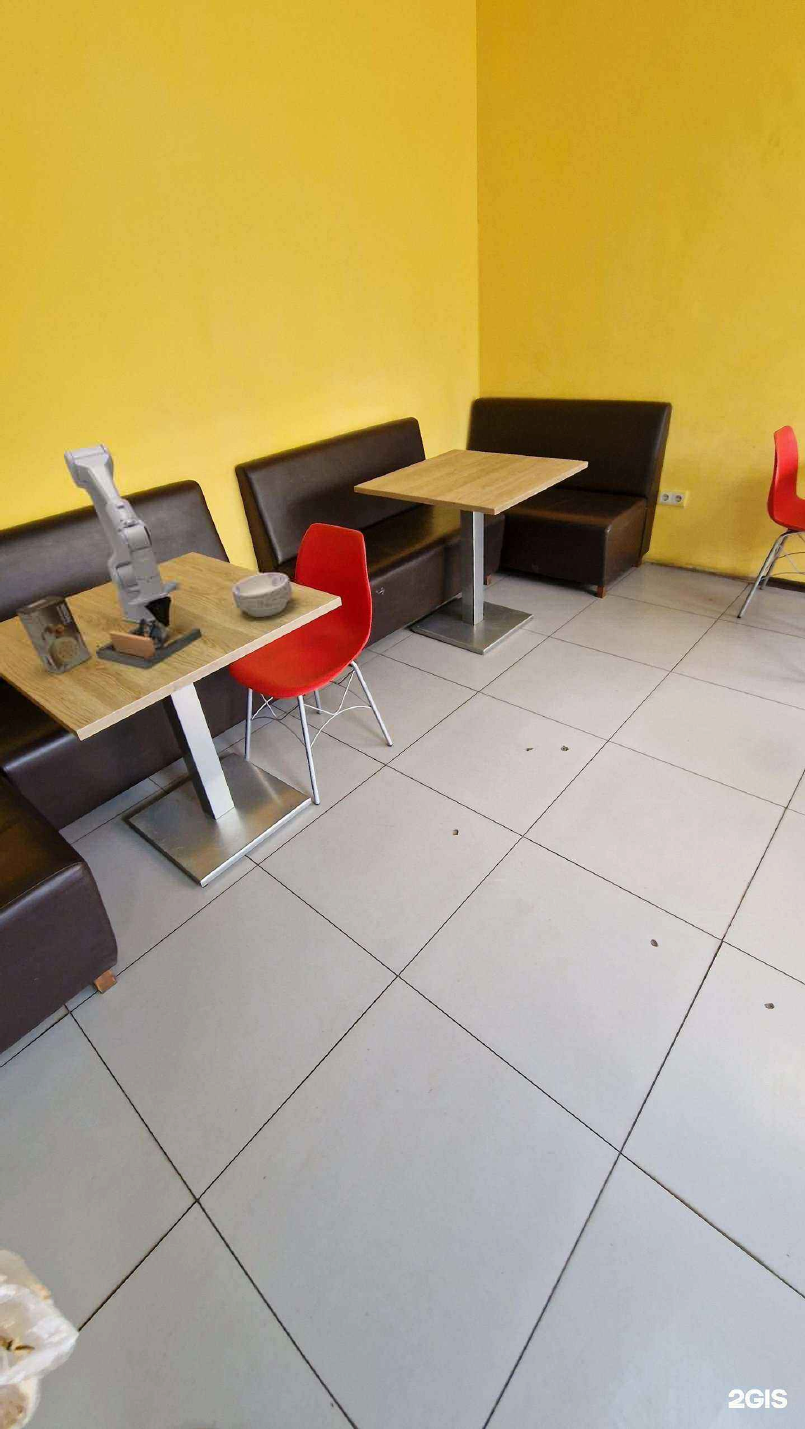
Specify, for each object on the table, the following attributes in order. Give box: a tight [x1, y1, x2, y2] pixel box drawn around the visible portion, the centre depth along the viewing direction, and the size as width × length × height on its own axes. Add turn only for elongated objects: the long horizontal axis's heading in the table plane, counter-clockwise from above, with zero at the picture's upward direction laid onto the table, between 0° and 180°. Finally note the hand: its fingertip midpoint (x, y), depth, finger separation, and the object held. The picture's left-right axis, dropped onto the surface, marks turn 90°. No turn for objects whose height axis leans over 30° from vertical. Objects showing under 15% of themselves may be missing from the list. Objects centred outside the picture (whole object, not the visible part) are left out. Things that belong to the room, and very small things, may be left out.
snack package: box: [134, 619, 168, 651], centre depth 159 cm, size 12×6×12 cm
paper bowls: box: [231, 572, 293, 618], centre depth 167 cm, size 15×15×8 cm
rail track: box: [95, 619, 203, 670], centre depth 157 cm, size 18×18×2 cm
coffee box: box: [15, 595, 92, 675], centre depth 150 cm, size 9×6×16 cm
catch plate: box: [108, 630, 157, 658], centre depth 153 cm, size 14×1×5 cm, turn 61°
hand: (165, 625), depth 160 cm, fingers closed
